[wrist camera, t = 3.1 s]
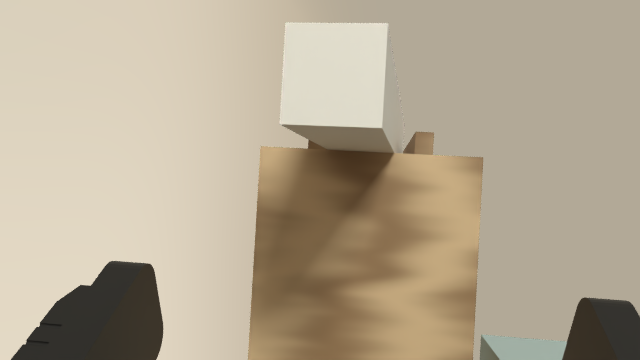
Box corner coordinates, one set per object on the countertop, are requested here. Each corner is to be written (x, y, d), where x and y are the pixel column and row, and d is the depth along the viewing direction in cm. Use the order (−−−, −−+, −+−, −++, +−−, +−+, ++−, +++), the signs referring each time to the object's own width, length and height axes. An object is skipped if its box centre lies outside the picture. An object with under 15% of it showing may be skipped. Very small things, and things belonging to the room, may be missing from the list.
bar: (402, 168, 39) (404, 124, 39) (382, 127, 16) (387, 23, 16) (358, 165, 39) (360, 122, 39) (279, 124, 17) (285, 22, 17)
